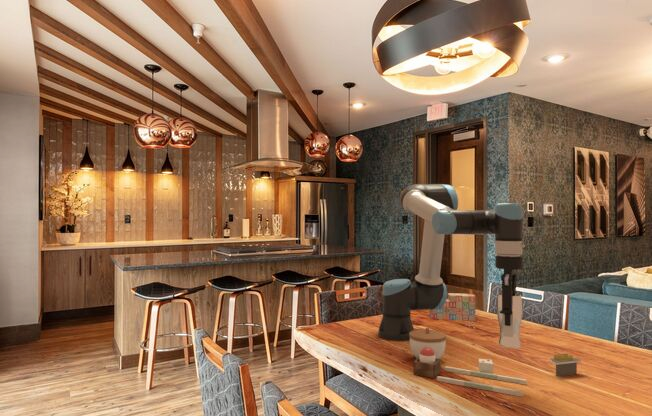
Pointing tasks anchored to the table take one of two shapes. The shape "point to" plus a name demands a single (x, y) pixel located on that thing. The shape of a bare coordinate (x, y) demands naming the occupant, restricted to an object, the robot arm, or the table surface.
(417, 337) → the lidded bowl
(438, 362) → the button housing
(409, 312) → the robot arm
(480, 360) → the die
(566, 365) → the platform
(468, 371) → the track
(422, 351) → the dome button
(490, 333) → the table surface
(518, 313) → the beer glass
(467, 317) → the stack of blocks
